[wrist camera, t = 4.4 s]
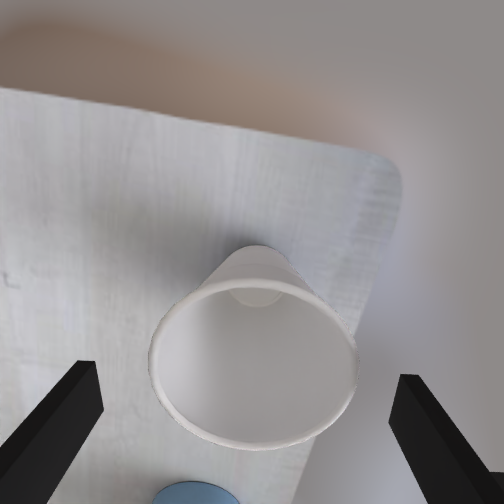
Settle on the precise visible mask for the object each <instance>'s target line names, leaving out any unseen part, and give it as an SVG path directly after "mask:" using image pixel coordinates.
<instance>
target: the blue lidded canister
mask: <svg viewBox="0 0 504 504" xmlns="http://www.w3.org/2000/svg"><path fill="white" fill-rule="evenodd" d="M152 504H239V502H238V501H237V500H236V499H235V498H234V497H233V496H232V495H231V494H230V493H228V492H227V491H225V490H223V489H221V488H219V487H217V486H214V485H211V484H207V483H201V482H182V483H177V484H174V485H171V486H168V487H166V488H165V489H163V490H162V491H160V492H159V493H158V494H157V495H156V497H155V498H154V500H153V502H152Z"/></svg>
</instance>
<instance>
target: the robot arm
mask: <svg viewBox="0 0 504 504" xmlns="http://www.w3.org/2000/svg"><path fill="white" fill-rule="evenodd" d="M103 411H104V407H103V402H102V396H101V391H100V385H99V380H98V374H97V369H96V363H95V361H80V360H77V362H76V363H75V364H74V365H73V366H72V367H71V368H70V369H69V371H68V372H67V373H66V374H65V375H64V376H63V377H62V378H61V380H60V381H59V382H58V383H57V384H56V385H55V386H54V387H53V388H52V390H51V391H50V392H49V393H48V394H47V395H46V396H45V397H44V399H43V400H42V401H41V402H40V403H39V404H38V405H37V406H36V408H35V409H34V410H33V411H32V412H31V413H30V414H29V415H28V417H27V418H26V419H25V420H24V421H23V422H22V423H21V424H20V425H19V427H18V428H17V429H16V430H15V431H14V432H13V433H12V434H11V436H10V437H9V438H8V439H7V440H6V441H5V442H4V443H3V445H2V446H1V447H0V504H47V502H48V500H49V499H50V497H51V496H52V494H53V492H54V491H55V489H56V487H57V486H58V484H59V482H60V481H61V479H62V478H63V476H64V474H65V473H66V471H67V469H68V468H69V466H70V465H71V463H72V461H73V460H74V458H75V456H76V455H77V453H78V451H79V450H80V448H81V447H82V445H83V443H84V442H85V440H86V438H87V437H88V435H89V434H90V432H91V430H92V429H93V427H94V425H95V424H96V422H97V420H98V419H99V417H100V416H101V414H102V412H103ZM389 425H390V427H391V429H392V431H393V433H394V435H395V437H396V439H397V441H398V443H399V445H400V447H401V449H402V452H403V454H404V456H405V458H406V460H407V462H408V464H409V466H410V468H411V470H412V472H413V474H414V476H415V478H416V480H417V482H418V484H419V487H420V489H421V490H422V493H423V494H424V497H425V499H426V501H427V503H428V504H504V473H503V472H489V470H488V469H487V468H486V466H485V465H484V464H483V462H482V461H481V460H480V458H479V457H478V455H477V454H476V453H475V451H474V450H473V449H472V447H471V446H470V444H469V443H468V442H467V441H466V439H465V438H464V436H463V435H462V433H461V432H460V431H459V429H458V428H457V427H456V425H455V424H454V423H453V421H452V420H451V419H450V417H449V416H448V414H447V413H446V412H445V410H444V409H443V408H442V406H441V405H440V403H439V402H438V401H437V399H436V398H435V397H434V395H433V394H432V392H431V391H430V390H429V388H428V387H427V386H426V384H425V383H424V382H423V380H422V379H421V377H420V376H419V375H412V374H400V378H399V382H398V386H397V390H396V394H395V398H394V402H393V406H392V411H391V414H390V418H389Z"/></svg>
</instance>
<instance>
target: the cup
mask: <svg viewBox="0 0 504 504" xmlns="http://www.w3.org/2000/svg"><path fill="white" fill-rule="evenodd" d="M148 371H149V375H150V380H151V384H152V387H153V389H154V391H155V393H156V396H157V398H158V400H159V402H160V403H161V404H162V406H163V407H164V408H165V410H166V411H167V412H168V413H169V415H170V416H171V417H172V418H173V419H175V420H176V421H177V422H178V423H179V424H180V425H181V426H182V427H184V428H185V429H187V430H188V431H190V432H192V433H193V434H195V435H196V436H198V437H200V438H203V439H205V440H207V441H209V442H212V443H214V444H218V445H221V446H225V447H229V448H233V449H241V450H250V451H253V450H273V449H279V448H285V447H289V446H292V445H295V444H298V443H301V442H304V441H306V440H308V439H310V438H312V437H314V436H316V435H318V434H319V433H321V432H322V431H324V430H325V429H326V428H327V427H329V426H330V425H331V424H332V423H334V422H335V421H336V420H337V418H338V417H339V416H340V415H341V414H342V413H343V412H344V411H345V409H346V408H347V406H348V404H349V402H350V401H351V399H352V397H353V395H354V392H355V389H356V386H357V382H358V379H359V378H358V377H359V357H358V351H357V347H356V343H355V340H354V338H353V336H352V334H351V332H350V330H349V327H348V326H347V324H346V323H345V322H344V321H343V319H342V318H341V317H340V315H339V314H338V313H337V312H336V310H334V309H333V308H332V307H331V306H330V305H328V304H327V303H326V302H325V301H324V300H322V299H321V298H320V297H318V296H317V295H316V294H315V293H314V292H313V290H312V289H311V288H310V287H309V286H308V285H307V283H306V282H305V281H304V280H303V279H302V277H301V276H300V275H299V274H298V273H297V271H296V270H295V269H294V268H293V266H292V265H291V264H290V263H289V261H288V260H287V259H286V258H285V257H284V256H283V255H282V254H281V253H279V252H278V251H276V250H274V249H272V248H269V247H266V246H260V245H253V246H247V247H243V248H241V249H239V250H236V251H235V252H234V253H232V254H231V255H230V256H229V257H228V258H227V259H226V260H225V261H224V262H223V263H222V264H221V265H220V266H219V267H218V268H217V269H216V270H215V271H214V272H213V273H212V274H211V275H210V276H209V277H208V278H207V279H206V280H205V281H204V282H203V283H202V284H201V285H200V286H199V287H198V288H197V289H196V290H195V291H193V292H191V293H189V294H188V295H186V296H185V297H184V298H182V299H181V300H180V301H178V302H177V303H176V304H174V305H173V306H172V307H171V309H170V310H169V311H168V312H167V313H166V314H165V315H164V317H163V318H162V319H161V321H160V323H159V324H158V326H157V328H156V330H155V332H154V334H153V336H152V340H151V344H150V348H149V352H148Z"/></svg>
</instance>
